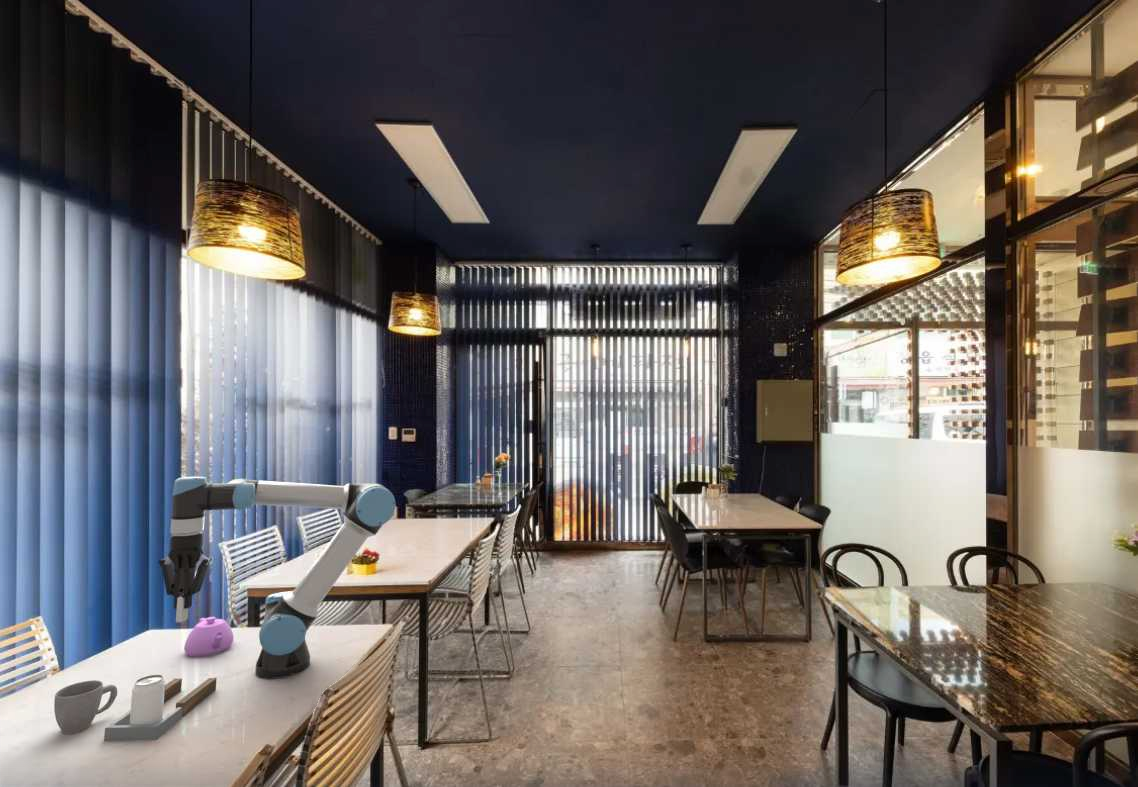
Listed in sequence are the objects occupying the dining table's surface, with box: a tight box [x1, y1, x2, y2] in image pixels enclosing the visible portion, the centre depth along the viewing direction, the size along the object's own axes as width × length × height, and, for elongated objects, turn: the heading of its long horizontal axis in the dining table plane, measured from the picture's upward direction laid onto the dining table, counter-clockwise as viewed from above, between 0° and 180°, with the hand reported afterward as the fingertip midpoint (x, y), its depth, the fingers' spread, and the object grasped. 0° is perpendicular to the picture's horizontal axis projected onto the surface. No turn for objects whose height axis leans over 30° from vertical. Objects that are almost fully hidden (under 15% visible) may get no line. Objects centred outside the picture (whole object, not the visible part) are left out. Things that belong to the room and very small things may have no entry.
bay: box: [103, 707, 183, 742], centre depth 130 cm, size 12×9×3 cm
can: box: [129, 674, 166, 725], centre depth 130 cm, size 6×6×12 cm
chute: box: [164, 677, 217, 718], centre depth 142 cm, size 12×14×4 cm
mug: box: [53, 680, 118, 736], centre depth 132 cm, size 12×9×10 cm
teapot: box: [183, 616, 234, 658], centre depth 177 cm, size 14×20×11 cm
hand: (181, 620), depth 143 cm, fingers closed
